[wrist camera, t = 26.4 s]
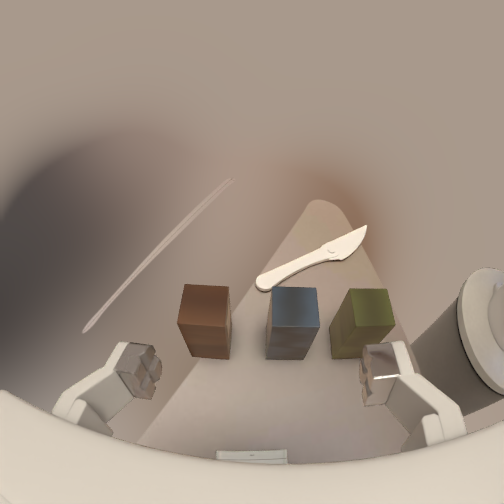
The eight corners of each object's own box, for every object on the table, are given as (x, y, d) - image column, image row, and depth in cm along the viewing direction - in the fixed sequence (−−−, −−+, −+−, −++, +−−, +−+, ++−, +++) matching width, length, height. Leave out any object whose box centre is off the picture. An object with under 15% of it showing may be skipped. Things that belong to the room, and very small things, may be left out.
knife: (265, 299, 42) (265, 295, 41) (250, 279, 45) (250, 274, 44) (381, 240, 51) (383, 236, 50) (366, 226, 54) (367, 222, 53)
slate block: (301, 326, 40) (316, 287, 32) (303, 359, 36) (320, 327, 29) (266, 325, 40) (272, 285, 32) (265, 359, 36) (272, 326, 29)
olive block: (360, 326, 40) (386, 288, 32) (365, 357, 36) (395, 325, 29) (328, 326, 40) (349, 287, 32) (332, 359, 36) (355, 326, 29)
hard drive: (290, 539, 19) (287, 449, 27) (216, 540, 19) (215, 450, 27) (288, 535, 20) (285, 449, 28) (217, 537, 20) (216, 450, 28)
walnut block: (229, 359, 36) (225, 326, 29) (191, 356, 36) (176, 323, 29) (232, 326, 39) (229, 286, 32) (196, 324, 39) (184, 283, 32)
